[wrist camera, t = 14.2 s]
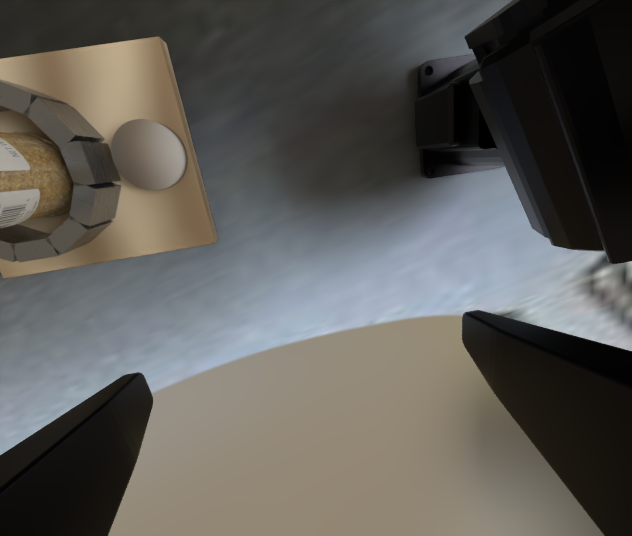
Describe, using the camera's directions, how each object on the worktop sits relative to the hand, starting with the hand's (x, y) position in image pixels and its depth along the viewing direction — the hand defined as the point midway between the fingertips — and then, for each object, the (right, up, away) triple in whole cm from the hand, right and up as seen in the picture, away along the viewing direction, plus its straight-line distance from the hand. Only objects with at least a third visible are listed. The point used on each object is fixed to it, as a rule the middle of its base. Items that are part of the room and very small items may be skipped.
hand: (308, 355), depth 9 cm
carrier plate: (-13, +8, +10) cm, 19 cm away
